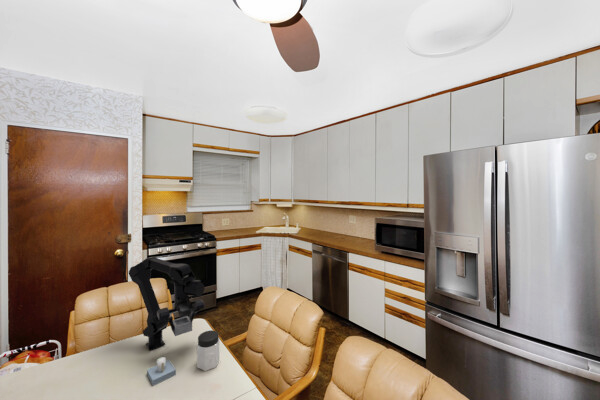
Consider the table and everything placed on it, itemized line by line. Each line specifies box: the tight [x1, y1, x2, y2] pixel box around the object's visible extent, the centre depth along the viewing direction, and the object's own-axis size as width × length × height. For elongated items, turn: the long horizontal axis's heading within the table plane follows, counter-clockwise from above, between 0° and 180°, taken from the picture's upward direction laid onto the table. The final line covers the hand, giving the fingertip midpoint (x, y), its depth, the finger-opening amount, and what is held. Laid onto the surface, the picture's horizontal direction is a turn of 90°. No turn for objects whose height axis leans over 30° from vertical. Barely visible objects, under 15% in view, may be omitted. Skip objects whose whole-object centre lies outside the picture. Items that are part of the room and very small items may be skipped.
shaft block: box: [146, 356, 177, 386], centre depth 97 cm, size 8×8×6 cm
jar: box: [196, 330, 220, 372], centre depth 103 cm, size 9×8×12 cm
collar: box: [172, 315, 193, 337], centre depth 111 cm, size 7×7×4 cm
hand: (181, 327), depth 111 cm, fingers closed on collar, 7 cm apart
